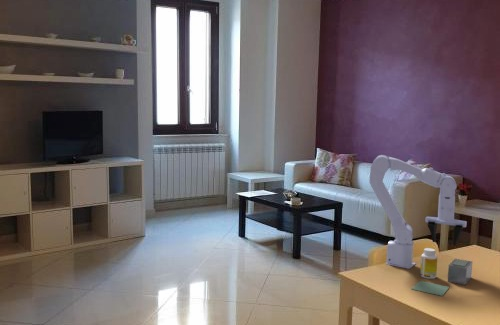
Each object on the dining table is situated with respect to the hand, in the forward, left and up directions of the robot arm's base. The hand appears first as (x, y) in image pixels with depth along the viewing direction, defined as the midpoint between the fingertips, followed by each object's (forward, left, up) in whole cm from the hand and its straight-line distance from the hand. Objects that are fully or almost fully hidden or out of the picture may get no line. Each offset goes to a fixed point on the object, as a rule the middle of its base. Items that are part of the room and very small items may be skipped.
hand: (444, 243), depth 192 cm
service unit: (+8, -8, -10) cm, 15 cm away
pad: (+2, -24, -10) cm, 26 cm away
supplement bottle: (-2, -12, -11) cm, 16 cm away
